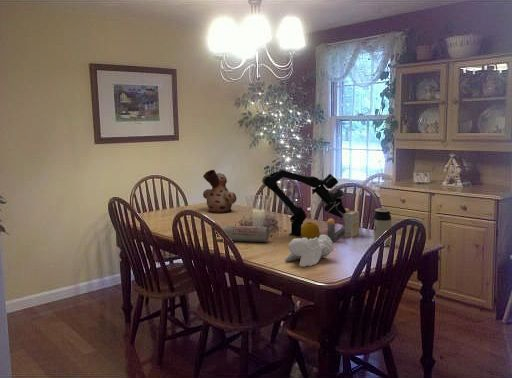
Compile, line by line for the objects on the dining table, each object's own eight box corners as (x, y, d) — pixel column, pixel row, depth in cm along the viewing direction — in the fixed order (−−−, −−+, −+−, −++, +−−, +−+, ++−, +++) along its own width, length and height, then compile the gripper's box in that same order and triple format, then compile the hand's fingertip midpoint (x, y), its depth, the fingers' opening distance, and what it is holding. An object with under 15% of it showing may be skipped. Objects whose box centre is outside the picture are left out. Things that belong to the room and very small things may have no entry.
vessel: (243, 210, 341) (242, 168, 337) (225, 216, 323) (223, 171, 318) (210, 207, 356) (209, 166, 352) (191, 212, 338) (189, 170, 334)
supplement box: (351, 233, 269) (351, 210, 267) (359, 234, 266) (359, 211, 264) (344, 236, 263) (344, 212, 261) (352, 237, 260) (352, 213, 258)
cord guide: (333, 242, 251) (333, 219, 250) (326, 241, 253) (326, 218, 251) (350, 228, 282) (351, 207, 280) (344, 227, 283) (344, 207, 282)
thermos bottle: (266, 225, 252) (215, 223, 259) (264, 240, 249) (213, 237, 256) (269, 229, 259) (219, 227, 266) (268, 243, 256) (217, 241, 263)
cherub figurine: (337, 238, 217) (301, 240, 207) (334, 265, 219) (298, 268, 208) (318, 232, 228) (283, 233, 218) (315, 257, 230) (281, 260, 219)
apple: (297, 243, 251) (297, 220, 250) (314, 240, 255) (314, 219, 253) (305, 247, 242) (305, 224, 241) (323, 245, 246) (323, 222, 244)
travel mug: (390, 243, 247) (391, 208, 245) (390, 247, 240) (391, 211, 237) (374, 242, 249) (374, 207, 247) (373, 246, 242) (374, 210, 239)
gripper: (329, 187, 256) (350, 209, 253) (339, 182, 273) (359, 203, 270) (315, 201, 261) (335, 222, 258) (326, 195, 277) (345, 216, 274)
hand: (344, 215), depth 265 cm, fingers open, 9 cm apart
